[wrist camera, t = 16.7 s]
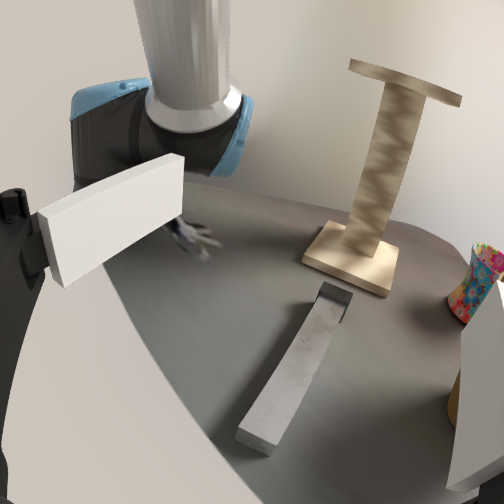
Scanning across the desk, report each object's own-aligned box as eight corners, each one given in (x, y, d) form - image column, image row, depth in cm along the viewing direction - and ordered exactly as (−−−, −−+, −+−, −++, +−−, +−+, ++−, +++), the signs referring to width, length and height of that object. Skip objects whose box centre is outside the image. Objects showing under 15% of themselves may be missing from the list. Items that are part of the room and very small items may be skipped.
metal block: (272, 458, 24) (281, 444, 22) (232, 438, 25) (236, 422, 23) (344, 314, 41) (353, 293, 39) (316, 302, 42) (324, 281, 40)
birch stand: (301, 262, 49) (350, 58, 32) (327, 227, 59) (367, 67, 43) (386, 298, 44) (462, 96, 28) (396, 255, 55) (450, 96, 38)
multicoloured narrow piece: (436, 309, 43) (468, 253, 38) (451, 286, 49) (477, 236, 43) (493, 350, 37) (531, 297, 31) (500, 321, 43) (531, 273, 37)
